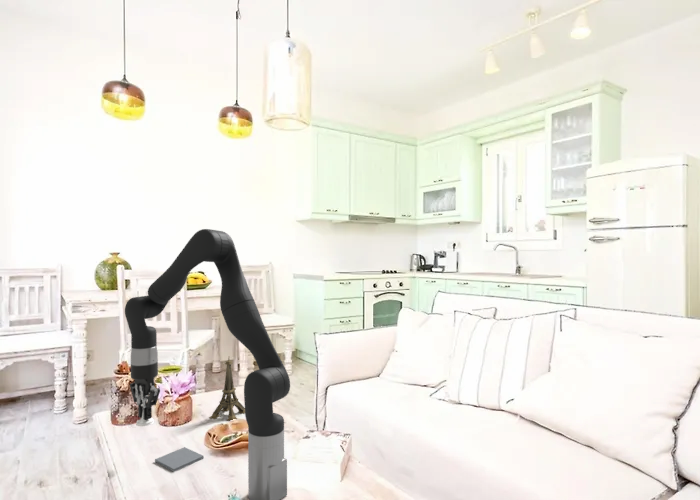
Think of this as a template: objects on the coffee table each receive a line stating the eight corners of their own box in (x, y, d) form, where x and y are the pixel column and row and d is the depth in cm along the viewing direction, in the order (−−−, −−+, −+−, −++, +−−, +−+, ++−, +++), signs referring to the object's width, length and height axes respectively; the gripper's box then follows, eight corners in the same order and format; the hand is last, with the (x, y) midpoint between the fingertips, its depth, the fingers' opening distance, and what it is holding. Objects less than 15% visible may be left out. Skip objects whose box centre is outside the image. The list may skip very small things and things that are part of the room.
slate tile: (203, 458, 135) (203, 455, 135) (173, 471, 127) (173, 469, 127) (184, 449, 141) (184, 447, 141) (155, 461, 132) (155, 459, 132)
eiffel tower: (233, 421, 164) (233, 354, 163) (209, 418, 167) (208, 352, 167) (248, 411, 174) (248, 348, 173) (225, 408, 177) (224, 346, 177)
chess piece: (146, 426, 131) (146, 393, 131) (132, 425, 132) (132, 392, 132) (157, 420, 136) (157, 388, 136) (143, 419, 137) (142, 387, 137)
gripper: (168, 362, 133) (169, 419, 133) (144, 355, 141) (144, 409, 141) (144, 367, 127) (145, 427, 127) (120, 360, 135) (121, 417, 135)
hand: (144, 417), depth 134 cm, fingers closed on chess piece, 2 cm apart
